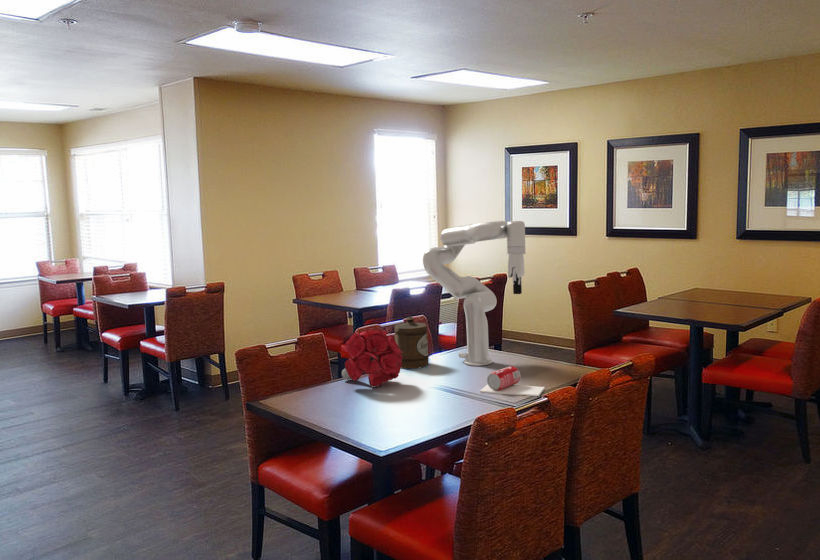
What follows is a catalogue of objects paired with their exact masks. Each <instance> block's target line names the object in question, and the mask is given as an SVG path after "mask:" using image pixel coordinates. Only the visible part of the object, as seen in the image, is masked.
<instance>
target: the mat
mask: <svg viewBox="0 0 820 560" xmlns="http://www.w3.org/2000/svg"><path fill="white" fill-rule="evenodd" d="M543 391H545V386H533V385H532V386H531V385H522V384H521V385H519V384H514V385H511V386H509V387H506V388H503V389H501V390H493V389H491V388H490V387H489V385H488V383H487V384H486V385H485V386H484V387H483V388H481V389H480V390H479V392H480V393H486V394H495V395H496V394H498V395H512V396H523V395H526V397H537V396H538V397H540V395H541V394H542V393H543Z"/></svg>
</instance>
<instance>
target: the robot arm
mask: <svg viewBox="0 0 820 560" xmlns="http://www.w3.org/2000/svg"><path fill="white" fill-rule="evenodd" d="M439 239H440V241H441V243H442V244H443V245H442V246H435V247H431V248H428V249H427V250H426V251H425V252H424V254H423V257H422V264H423V268H424V270H425V272H426V273H427V274H428V275H429V276H430V277H431V278H432V279H433V280H434V281H436V282H437V283H438V284H439V285H440V286H441V287H442V289H444V290H445V291H447V292H448V293H449V294H450V295H451V296H452V297H454V298H455V299H459V300H460V299H464V300H463V310H464V314H465V325H466V326H465V327H466V349H467V350H466V352H459V353H458V357H459V358H460V359H464V360H463V361H464V362H463V363H464V365H466V366H467V365H468V366H472V367H473V366H475V367H480V366H481V367H482V366H483V367H484V366H488V365H491V364H492V363H493V359H492V358H490V354H489V353H490V352H489V325H488V324H489V323H488V322H489V321H488V319H487V316H486V313H487V312H489V311H492V310H493V309H495V307H496V306H497V302H498V301H497V297H496V295H495V293H494V292H493V291H492V290H491V289H490V288H489V287H487V286H486V285H485V284H484V283H482V282H481V280H479V279H478V278H476V277H474V276H470V275H469V276H460V275H458V274H457V273H456V272H455V271H454V270H452V269H451V268H449V267H448V266H446V265H449V264H451V263H453V262H454V261H455V260H456V259H457V257H458V256H459V254H460V253H461V251H462V250H463V248H465V246H466V245H472V244H476V243H478V242H484V241H485V242H487V241H491V240H493V241H494V240H499V239H500V240H502V239H506V248H507V249H506V250H507V253H506V254H507V255H508V258H507V259H508V261H507V277H508V278H509V279H511V278H512V291H513V292H512V293H513V295H521V294H522V293H523V291H522V290H523V289H522V277H524V276H525V259H524V258H525V257H524V256H525V255H526V224H525V222H524V221H521V220H513V221H512V220H511V221H508V220H497V221H495V220H494V221H487V222H480V223H477V224H473V223H471V224H465V225H460V226H453V227H452V226H451V227H447V228H444V229H443V230H442V232H441V233H440V238H439Z"/></svg>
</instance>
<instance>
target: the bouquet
mask: <svg viewBox="0 0 820 560" xmlns="http://www.w3.org/2000/svg"><path fill="white" fill-rule="evenodd" d="M387 334H388V332H387V331H386V330H373V329H367V330H363V331H361V332H360V333H359V332H358V331H355V332H354V333H353V334H352V335H350V337H349V339H348V340H346V342H345V344H344V347H343V350H344V351H345V352H346V353H348V354H349V357H348V358H347V360H346V361H345V362H344V369H342V371H341V377H342V378H343V379H344V380H345V381H349V380H348V379H350V380H353V381H354V382H356V381H358V380H360V378H361V377H362V375H363V373H366V375H368V378H367V379H368V383H369V386H370V387H372V386H377V385H381V386H382V384H383V383H384V384H385V383H387V382H389V381H392V380H394V379H398V377H399V374H400V372H401V369H402V368H401V366H402V363H401V362H402V359H403V356H402V355H399V354H401V353H402V352H401V351H400V349H399V347H398V345H397V343H396V341H395V337H394V336H392V335H390V334H389V335H387ZM374 350H375V351H374ZM346 379H347V380H346ZM372 388H373V387H372Z"/></svg>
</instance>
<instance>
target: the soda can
mask: <svg viewBox="0 0 820 560" xmlns="http://www.w3.org/2000/svg"><path fill="white" fill-rule="evenodd" d="M486 381H487V384H488V385H489V387H490V388H491V389H493V390H501V389H503V388H506V387H509V386H511V385H518V383H519V382H520V381H521V372H520V370H519V369H518V368H517V367H516V366H514V365H508V366H507V367H504V368H501V369H498V370H494V371H492V372H491V373H490V374H488V375H487V379H486Z"/></svg>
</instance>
